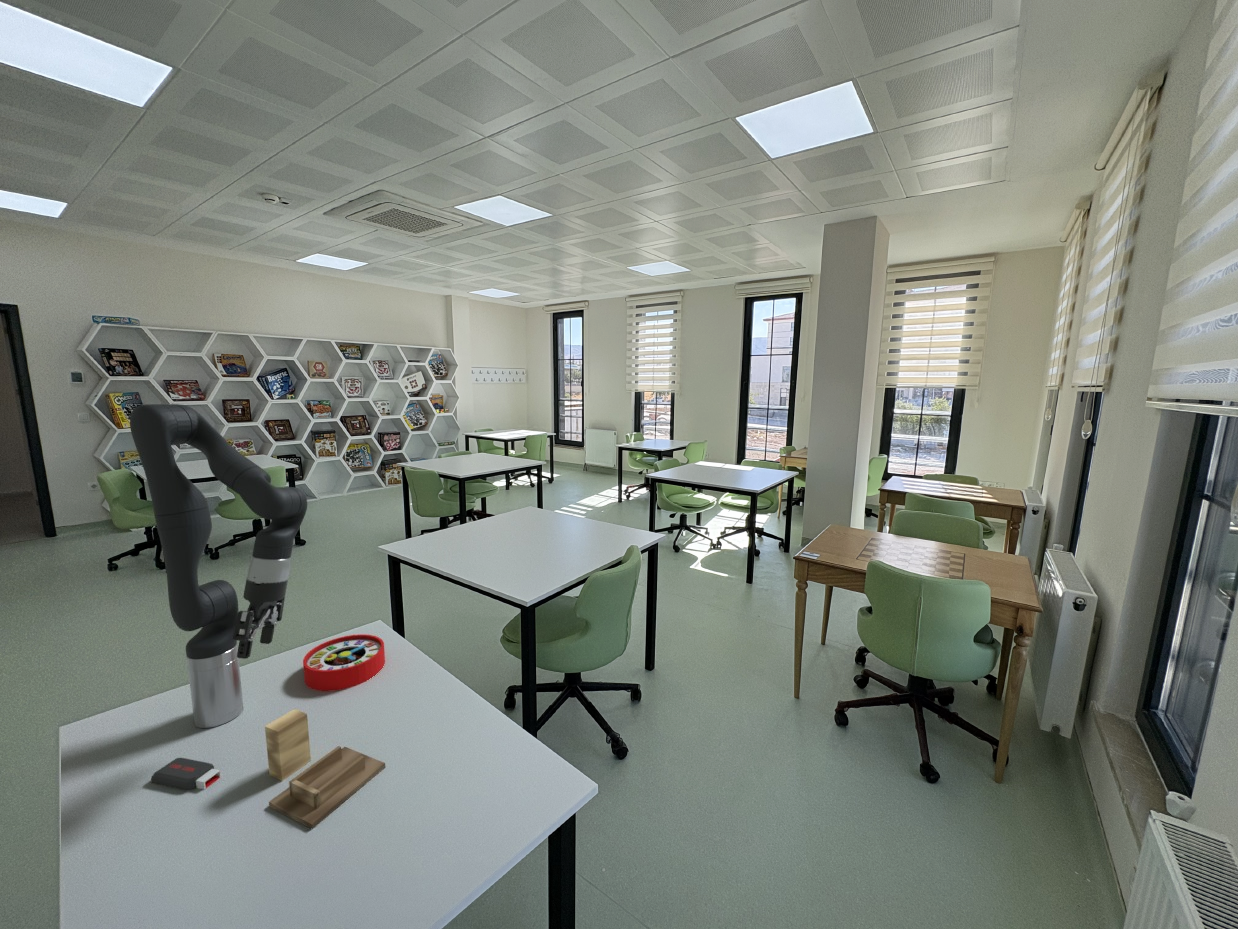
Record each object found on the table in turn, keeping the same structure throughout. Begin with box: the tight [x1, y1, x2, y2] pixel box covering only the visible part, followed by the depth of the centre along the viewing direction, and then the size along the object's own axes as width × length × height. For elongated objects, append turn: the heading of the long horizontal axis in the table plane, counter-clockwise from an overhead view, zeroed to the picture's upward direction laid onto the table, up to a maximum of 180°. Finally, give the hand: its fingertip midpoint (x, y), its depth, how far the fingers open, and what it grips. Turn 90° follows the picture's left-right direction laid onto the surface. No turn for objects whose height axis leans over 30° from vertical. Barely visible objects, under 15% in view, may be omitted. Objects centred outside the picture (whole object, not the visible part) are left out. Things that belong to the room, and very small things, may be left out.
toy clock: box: [302, 633, 386, 692], centre depth 137 cm, size 20×6×20 cm
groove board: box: [268, 746, 386, 830], centre depth 97 cm, size 12×16×4 cm
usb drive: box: [150, 757, 222, 791], centre depth 98 cm, size 5×12×3 cm, turn 79°
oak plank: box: [264, 708, 312, 782], centre depth 101 cm, size 4×6×11 cm, turn 157°
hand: (254, 650), depth 106 cm, fingers open, 8 cm apart
